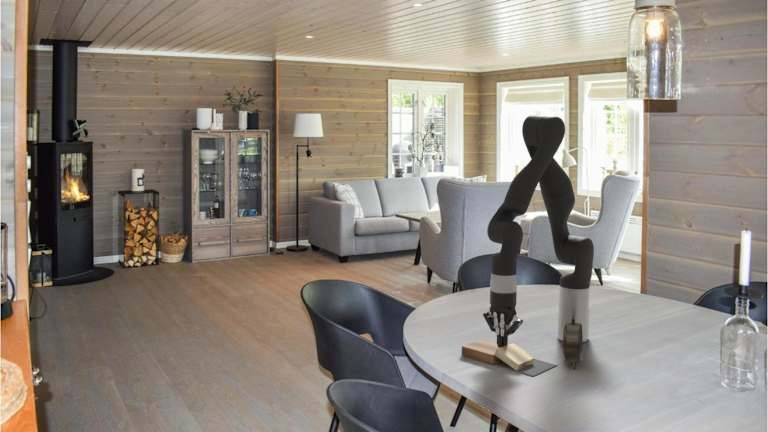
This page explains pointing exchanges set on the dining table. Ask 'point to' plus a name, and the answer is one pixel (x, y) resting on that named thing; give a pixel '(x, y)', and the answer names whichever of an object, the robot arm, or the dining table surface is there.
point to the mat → (530, 367)
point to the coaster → (514, 356)
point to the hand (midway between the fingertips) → (501, 347)
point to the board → (481, 351)
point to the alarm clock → (573, 342)
